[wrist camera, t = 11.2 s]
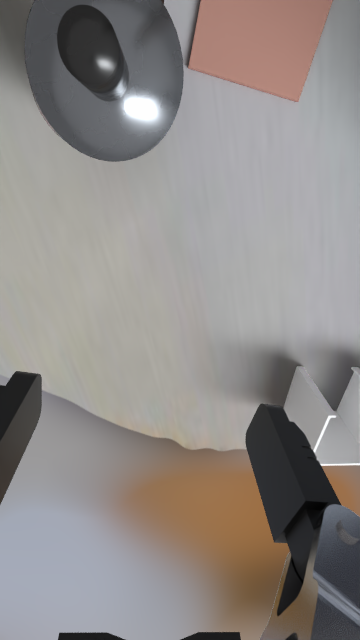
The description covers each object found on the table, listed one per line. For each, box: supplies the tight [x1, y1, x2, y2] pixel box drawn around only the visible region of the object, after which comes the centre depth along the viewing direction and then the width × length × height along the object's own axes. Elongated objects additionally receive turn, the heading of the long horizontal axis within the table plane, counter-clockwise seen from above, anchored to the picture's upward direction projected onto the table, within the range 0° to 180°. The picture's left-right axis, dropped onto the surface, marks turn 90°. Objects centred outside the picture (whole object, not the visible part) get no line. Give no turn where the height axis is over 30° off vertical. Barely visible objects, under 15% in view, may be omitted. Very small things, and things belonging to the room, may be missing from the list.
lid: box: [25, 0, 183, 161], centre depth 19 cm, size 11×11×7 cm
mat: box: [188, 0, 333, 102], centre depth 27 cm, size 12×12×1 cm
